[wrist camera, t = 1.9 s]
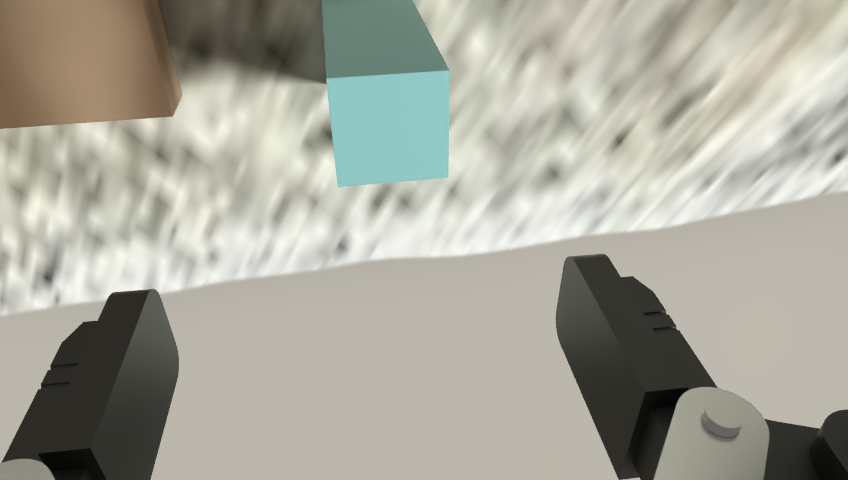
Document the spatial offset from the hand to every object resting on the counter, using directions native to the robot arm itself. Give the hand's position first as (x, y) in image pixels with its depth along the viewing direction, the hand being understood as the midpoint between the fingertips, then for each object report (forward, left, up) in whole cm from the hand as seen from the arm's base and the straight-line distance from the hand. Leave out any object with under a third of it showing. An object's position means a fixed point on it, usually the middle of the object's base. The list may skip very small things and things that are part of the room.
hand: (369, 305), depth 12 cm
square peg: (-1, +1, -20) cm, 20 cm away
